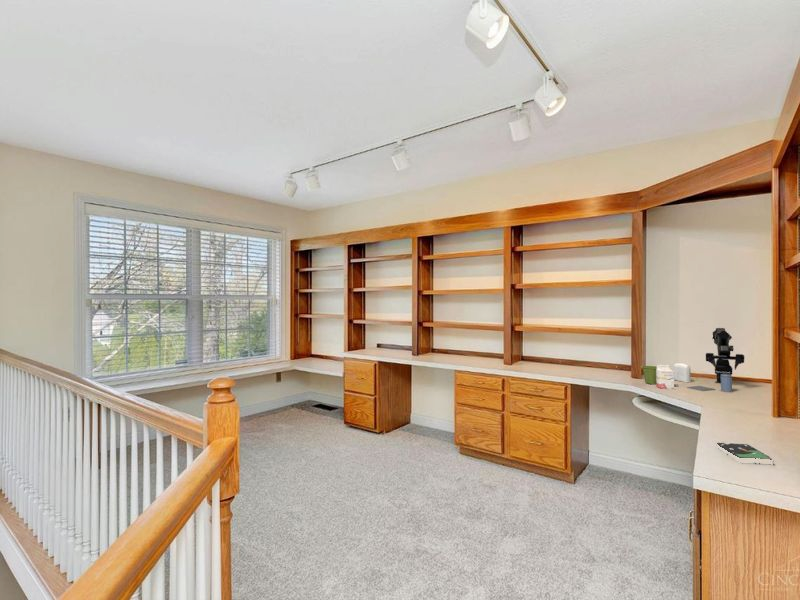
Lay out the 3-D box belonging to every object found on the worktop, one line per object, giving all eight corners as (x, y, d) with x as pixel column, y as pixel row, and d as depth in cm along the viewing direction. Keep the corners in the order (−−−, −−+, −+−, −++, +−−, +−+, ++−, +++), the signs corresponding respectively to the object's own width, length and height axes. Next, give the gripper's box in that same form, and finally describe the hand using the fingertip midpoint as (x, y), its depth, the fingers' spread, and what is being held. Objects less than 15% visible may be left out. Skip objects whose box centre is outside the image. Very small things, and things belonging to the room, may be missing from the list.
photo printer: (692, 382, 270) (691, 364, 271) (687, 382, 269) (686, 364, 269) (677, 379, 280) (676, 362, 280) (672, 380, 279) (672, 362, 279)
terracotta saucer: (716, 392, 241) (715, 384, 241) (725, 391, 242) (724, 383, 242) (728, 394, 234) (728, 386, 234) (737, 393, 236) (736, 385, 236)
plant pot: (666, 384, 266) (666, 367, 266) (651, 385, 264) (651, 368, 264) (651, 381, 278) (651, 365, 278) (637, 382, 275) (636, 366, 275)
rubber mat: (687, 389, 250) (686, 387, 250) (699, 388, 253) (699, 385, 253) (702, 392, 241) (702, 390, 241) (715, 391, 243) (715, 388, 243)
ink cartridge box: (659, 388, 255) (658, 365, 255) (656, 387, 259) (655, 364, 260) (674, 388, 253) (673, 365, 253) (671, 387, 258) (670, 364, 258)
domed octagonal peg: (719, 390, 240) (718, 374, 240) (725, 390, 241) (724, 373, 241) (727, 392, 235) (727, 375, 235) (734, 391, 236) (733, 375, 236)
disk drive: (716, 449, 153) (739, 464, 139) (715, 442, 153) (739, 456, 139) (747, 451, 151) (774, 466, 136) (747, 443, 151) (774, 458, 136)
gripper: (705, 340, 254) (706, 359, 246) (743, 341, 243) (746, 361, 235) (705, 351, 261) (706, 370, 252) (742, 352, 250) (745, 373, 241)
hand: (725, 368), depth 245 cm, fingers open, 9 cm apart
